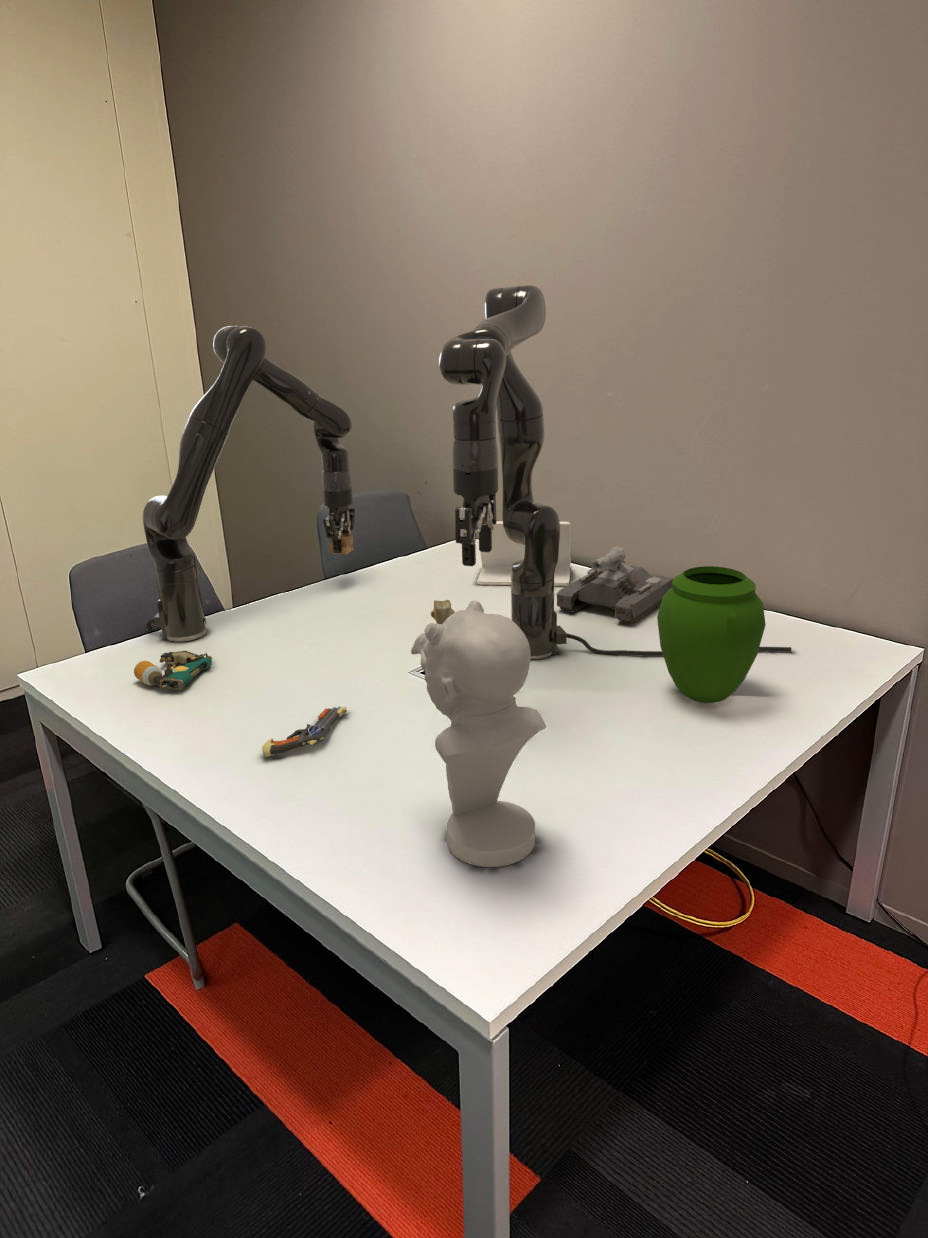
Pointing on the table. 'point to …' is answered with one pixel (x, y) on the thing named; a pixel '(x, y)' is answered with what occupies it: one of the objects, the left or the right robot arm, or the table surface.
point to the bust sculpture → (481, 729)
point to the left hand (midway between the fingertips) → (342, 549)
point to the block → (344, 543)
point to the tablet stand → (519, 558)
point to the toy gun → (305, 733)
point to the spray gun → (172, 669)
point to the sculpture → (441, 611)
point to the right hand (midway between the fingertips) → (477, 558)
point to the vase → (710, 631)
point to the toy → (615, 588)
